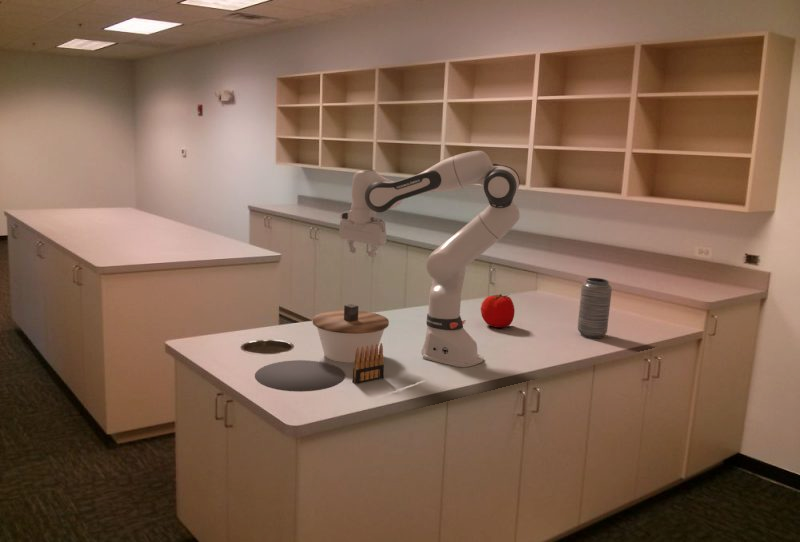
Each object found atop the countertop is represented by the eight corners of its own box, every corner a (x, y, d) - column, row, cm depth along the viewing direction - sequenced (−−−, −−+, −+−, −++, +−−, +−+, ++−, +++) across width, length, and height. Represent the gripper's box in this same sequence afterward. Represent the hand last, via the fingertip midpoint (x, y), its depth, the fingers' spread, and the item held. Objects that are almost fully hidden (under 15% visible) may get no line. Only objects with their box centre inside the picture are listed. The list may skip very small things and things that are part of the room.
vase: (581, 329, 285) (587, 275, 281) (609, 334, 280) (615, 279, 275) (573, 335, 275) (578, 280, 271) (602, 341, 270) (608, 284, 265)
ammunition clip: (380, 378, 217) (382, 341, 215) (383, 380, 215) (385, 343, 213) (352, 384, 211) (353, 346, 208) (355, 386, 209) (356, 348, 207)
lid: (404, 324, 236) (405, 307, 235) (350, 338, 217) (350, 320, 216) (351, 309, 253) (351, 293, 252) (296, 321, 233) (297, 303, 232)
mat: (363, 378, 216) (363, 376, 216) (293, 400, 195) (293, 398, 195) (305, 356, 234) (306, 354, 234) (236, 374, 214) (236, 372, 213)
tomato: (520, 330, 280) (522, 297, 277) (490, 332, 275) (492, 299, 272) (500, 320, 294) (503, 289, 291) (472, 321, 289) (474, 290, 286)
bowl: (308, 347, 245) (309, 314, 242) (373, 344, 252) (375, 312, 250) (322, 369, 222) (323, 334, 220) (392, 365, 230) (394, 331, 227)
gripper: (391, 218, 237) (389, 258, 240) (349, 212, 250) (348, 249, 253) (379, 220, 232) (377, 260, 235) (336, 213, 245) (335, 251, 248)
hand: (361, 254), depth 244 cm, fingers open, 8 cm apart
